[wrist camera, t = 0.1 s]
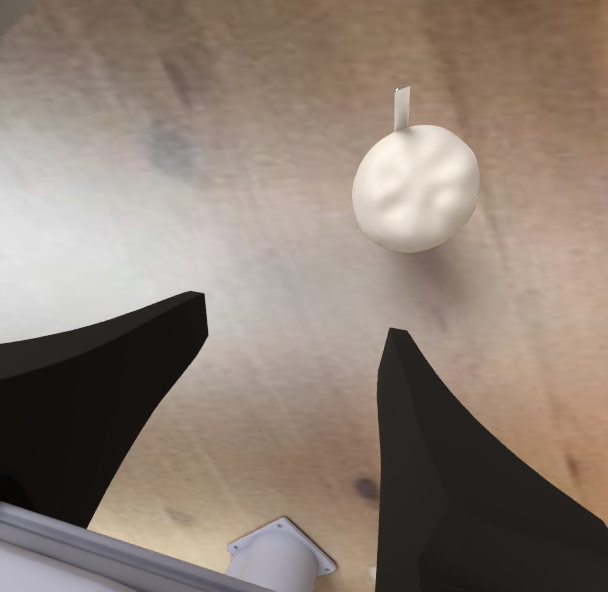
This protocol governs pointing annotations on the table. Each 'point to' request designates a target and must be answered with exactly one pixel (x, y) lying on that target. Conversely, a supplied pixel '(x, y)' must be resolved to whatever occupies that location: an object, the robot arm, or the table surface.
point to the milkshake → (415, 185)
